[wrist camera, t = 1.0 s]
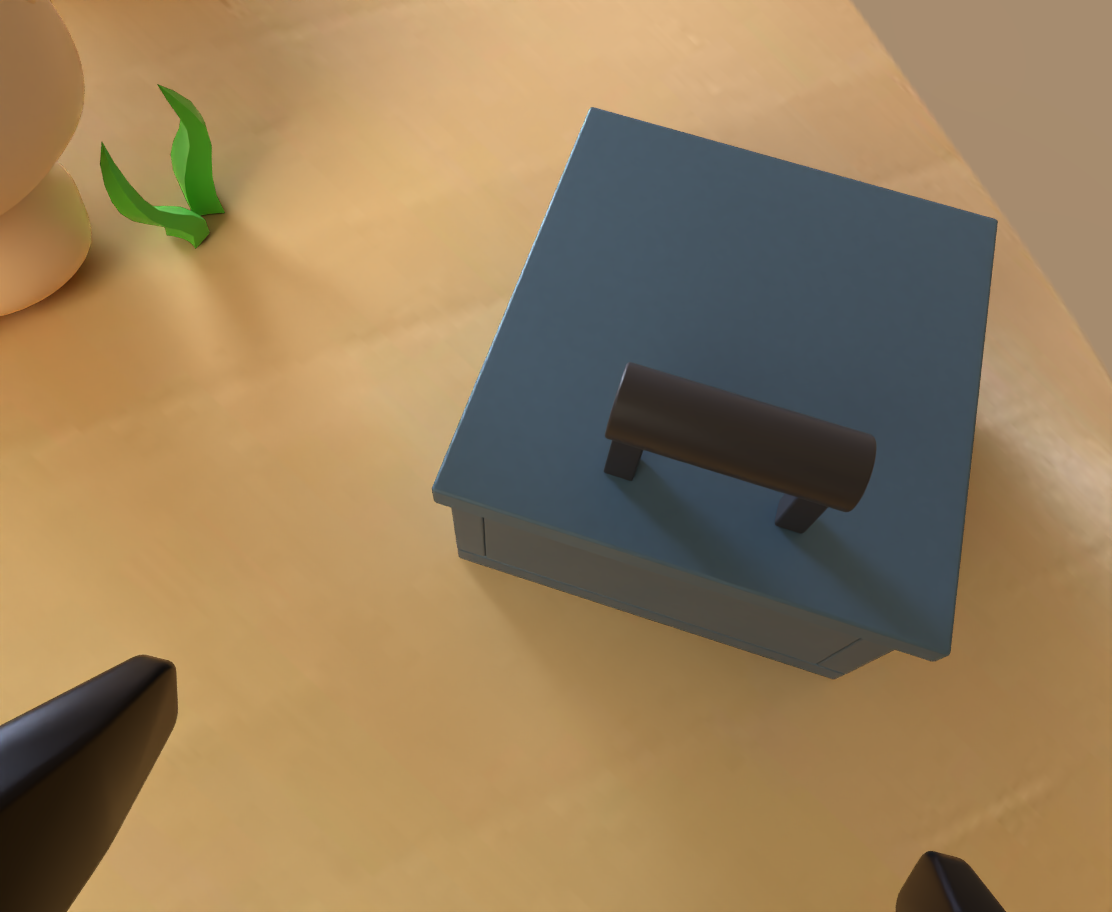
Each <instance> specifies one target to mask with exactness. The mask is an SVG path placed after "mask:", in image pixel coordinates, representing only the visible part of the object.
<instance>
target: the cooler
mask: <svg viewBox="0 0 1112 912" xmlns="http://www.w3.org/2000/svg"><path fill="white" fill-rule="evenodd" d="M452 515H453V521H454V528H455V535H456V542H457V548H458V554H459V557H460V558H462V559H465V560H468V561H471V562H474V563H477V564H480V565H483V566H486V567H489V568H493V569H496V570H499V571H502V572H505V573H508V574H511V575H514V576H517V577H520V578H523V579H526V580H529V581H533V582H536V583H539V584H542V585H545V586H548V587H551V588H554V589H557V590H560V591H563V592H566V593H570V594H573V595H576V596H579V597H582V598H585V599H588V600H591V601H594V602H597V603H600V604H603V605H606V606H610V607H613V608H616V609H619V610H622V611H625V612H628V613H631V614H634V615H637V616H640V617H643V618H646V619H650V620H653V621H656V622H659V623H662V624H665V625H668V626H671V627H674V628H677V629H680V630H683V631H686V632H690V633H693V634H696V635H699V636H702V637H705V638H708V639H711V640H714V641H717V642H720V643H723V644H726V645H730V646H733V647H736V648H739V649H742V650H745V651H748V652H751V653H754V654H757V655H760V656H763V657H766V658H770V659H773V660H776V661H779V662H782V663H785V664H788V665H791V666H794V667H797V668H800V669H803V670H806V671H810V672H813V673H816V674H819V675H822V676H825V677H828V678H831V679H837V678H839V677H841V676H843V675H845V674H847V673H849V672H851V671H853V670H855V669H857V668H859V667H861V666H863V665H865V664H867V663H869V662H871V661H873V660H875V659H877V658H879V657H881V656H883V655H885V654H887V653H889V652H891V651H893V650H895V649H891V648H888V647H885V646H882V645H879V644H876V643H873V642H870V641H867V640H863V639H860V638H857V637H854V636H851V635H848V634H845V633H842V632H838V631H835V630H832V629H829V628H826V627H823V626H820V625H817V624H813V623H810V622H807V621H804V620H801V619H798V618H795V617H792V616H788V615H785V614H782V613H779V612H776V611H773V610H770V609H767V608H764V607H760V606H757V605H754V604H751V603H748V602H745V601H742V600H739V599H735V598H732V597H729V596H726V595H723V594H720V593H717V592H714V591H710V590H707V589H704V588H701V587H698V586H695V585H692V584H689V583H685V582H682V581H679V580H676V579H673V578H670V577H667V576H664V575H660V574H657V573H654V572H651V571H648V570H645V569H642V568H639V567H636V566H632V565H629V564H626V563H623V562H620V561H617V560H614V559H611V558H607V557H604V556H601V555H598V554H595V553H592V552H589V551H586V550H582V549H579V548H576V547H573V546H570V545H567V544H564V543H561V542H557V541H554V540H551V539H548V538H545V537H542V536H539V535H536V534H533V533H529V532H526V531H523V530H520V529H517V528H514V527H511V526H508V525H504V524H501V523H498V522H495V521H492V520H489V519H486V518H483V517H479V516H476V515H473V514H470V513H467V512H464V511H461V510H458V509H454V508H452Z"/></svg>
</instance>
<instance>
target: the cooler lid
mask: <svg viewBox="0 0 1112 912" xmlns="http://www.w3.org/2000/svg"><path fill="white" fill-rule="evenodd" d="M997 223H998V221H997V220H996V219H993V218H990V217H986V216H982V215H979V214H975V213H972V212H968V211H964V210H961V209H957V208H954V207H950V206H946V205H943V204H939V203H936V202H932V201H928V200H925V199H921V198H918V197H914V196H910V195H907V194H903V193H900V192H896V191H893V190H889V189H885V188H882V187H878V186H875V185H871V184H867V183H864V182H860V181H857V180H853V179H849V178H846V177H842V176H839V175H835V174H831V173H828V172H824V171H821V170H817V169H813V168H810V167H806V166H803V165H799V164H795V163H792V162H788V161H785V160H781V159H777V158H774V157H770V156H767V155H763V154H759V153H756V152H752V151H749V150H745V149H742V148H738V147H734V146H731V145H727V144H724V143H720V142H716V141H713V140H709V139H706V138H702V137H698V136H695V135H691V134H688V133H684V132H680V131H677V130H673V129H670V128H666V127H662V126H659V125H655V124H652V123H648V122H644V121H641V120H637V119H634V118H630V117H626V116H623V115H619V114H616V113H612V112H609V111H605V110H601V109H598V108H594V107H591V108H590V109H589V111H588V114H587V116H586V118H585V121H584V123H583V126H582V128H581V130H580V133H579V135H578V138H577V140H576V142H575V145H574V147H573V150H572V152H571V154H570V157H569V159H568V162H567V164H566V166H565V169H564V171H563V174H562V176H561V179H560V181H559V183H558V186H557V188H556V191H555V193H554V195H553V198H552V200H551V203H550V205H549V207H548V210H547V212H546V215H545V217H544V219H543V222H542V224H541V227H540V229H539V231H538V234H537V236H536V239H535V241H534V243H533V246H532V248H531V251H530V253H529V256H528V258H527V260H526V263H525V265H524V268H523V270H522V272H521V275H520V277H519V280H518V282H517V284H516V287H515V289H514V292H513V294H512V296H511V299H510V301H509V304H508V306H507V308H506V311H505V313H504V316H503V318H502V320H501V323H500V325H499V328H498V330H497V333H496V335H495V337H494V340H493V342H492V345H491V347H490V349H489V352H488V354H487V357H486V359H485V361H484V364H483V366H482V369H481V371H480V373H479V376H478V378H477V381H476V383H475V385H474V388H473V390H472V393H471V395H470V397H469V400H468V402H467V405H466V407H465V410H464V412H463V414H462V417H461V419H460V422H459V424H458V426H457V429H456V431H455V434H454V436H453V438H452V441H451V443H450V446H449V448H448V450H447V453H446V455H445V458H444V460H443V462H442V465H441V467H440V470H439V472H438V474H437V477H436V479H435V482H434V484H433V486H432V493H433V498H434V501H435V502H436V503H439V504H442V505H445V506H448V507H451V508H454V509H458V510H461V511H464V512H467V513H470V514H473V515H476V516H479V517H483V518H486V519H489V520H492V521H495V522H498V523H501V524H504V525H508V526H511V527H514V528H517V529H520V530H523V531H526V532H529V533H533V534H536V535H539V536H542V537H545V538H548V539H551V540H554V541H557V542H561V543H564V544H567V545H570V546H573V547H576V548H579V549H582V550H586V551H589V552H592V553H595V554H598V555H601V556H604V557H607V558H611V559H614V560H617V561H620V562H623V563H626V564H629V565H632V566H636V567H639V568H642V569H645V570H648V571H651V572H654V573H657V574H660V575H664V576H667V577H670V578H673V579H676V580H679V581H682V582H685V583H689V584H692V585H695V586H698V587H701V588H704V589H707V590H710V591H714V592H717V593H720V594H723V595H726V596H729V597H732V598H735V599H739V600H742V601H745V602H748V603H751V604H754V605H757V606H760V607H764V608H767V609H770V610H773V611H776V612H779V613H782V614H785V615H788V616H792V617H795V618H798V619H801V620H804V621H807V622H810V623H813V624H817V625H820V626H823V627H826V628H829V629H832V630H835V631H838V632H842V633H845V634H848V635H851V636H854V637H857V638H860V639H863V640H867V641H870V642H873V643H876V644H879V645H882V646H885V647H888V648H891V649H895V650H898V651H901V652H904V653H907V654H910V655H913V656H916V657H920V658H923V659H926V660H929V661H937V660H939V659H942V658H944V657H946V656H949V654H950V651H951V642H952V633H953V624H954V614H955V605H956V596H957V587H958V578H959V569H960V560H961V551H962V542H963V532H964V523H965V514H966V505H967V496H968V487H969V478H970V469H971V459H972V450H973V441H974V432H975V423H976V414H977V405H978V396H979V387H980V377H981V368H982V359H983V350H984V341H985V332H986V323H987V314H988V305H989V295H990V286H991V277H992V268H993V259H994V250H995V241H996V232H997Z"/></svg>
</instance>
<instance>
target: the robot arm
mask: <svg viewBox="0 0 1112 912" xmlns="http://www.w3.org/2000/svg"><path fill="white" fill-rule="evenodd" d="M177 714H178V698H177V675H176V667H175V665H174V664H173V663H172V662H170V661H169V660H165V659H161V658H157V657H153V656H149V655H138V656H135V657H132V658H130V659H128V660H126V661H125V662H123V663H121V664H119V665H117V666H115V667H113V668H111V669H109V670H107V671H105V672H103V673H101V674H99V675H97V676H95V677H94V678H92V679H90V680H88V681H86V682H84V683H82V684H80V685H78V686H76V687H74V688H72V689H70V690H68V691H66V692H64V693H63V694H61V695H59V696H57V697H55V698H53V699H51V700H49V701H47V702H45V703H43V704H41V705H39V706H37V707H35V708H33V709H32V710H30V711H28V712H26V713H24V714H22V715H20V716H18V717H16V718H14V719H12V720H10V721H8V722H6V723H4V724H2V725H1V726H0V912H67V911H68V909H69V908H70V906H71V905H72V903H73V902H74V900H75V899H76V897H77V896H78V894H79V893H80V891H81V890H82V889H83V887H84V886H85V884H86V883H87V881H88V880H89V878H90V877H91V875H92V874H93V872H94V871H95V869H96V868H97V866H98V865H99V863H100V861H101V860H102V858H103V857H104V855H105V854H106V852H107V850H108V849H109V847H110V845H111V844H112V842H113V840H114V838H115V837H116V835H117V833H118V831H119V829H120V828H121V826H122V824H123V822H124V820H125V818H126V816H127V815H128V813H129V811H130V809H131V807H132V805H133V803H134V801H135V800H136V798H137V796H138V794H139V792H140V790H141V788H142V787H143V785H144V783H145V781H146V779H147V777H148V775H149V773H150V772H151V770H152V768H153V766H154V764H155V762H156V760H157V759H158V757H159V755H160V753H161V751H162V749H163V747H164V745H165V744H166V742H167V740H168V738H169V736H170V734H171V732H172V730H173V728H174V725H175V723H176V719H177ZM895 912H1006V911H1005V910H1004V908H1003V907H1002V906H1001V905H1000V903H999V902H998V901H997V900H996V898H995V897H994V896H993V895H992V893H991V892H990V891H989V889H988V888H987V887H986V886H985V884H984V883H983V882H982V881H981V879H980V878H979V877H978V875H977V874H976V873H975V872H974V870H973V869H972V868H971V867H970V866H969V865H968V864H967V863H966V862H965V861H964V860H962V859H960V858H958V857H954V856H950V855H946V854H942V853H938V852H934V851H928V852H926V853H924V854H923V855H922V856H921V857H920V859H919V861H918V862H917V864H916V865H915V867H914V869H913V870H912V872H911V874H910V875H909V877H908V879H907V880H906V882H905V884H904V885H903V887H902V889H901V890H900V892H899V894H898V898H897V902H896V911H895Z"/></svg>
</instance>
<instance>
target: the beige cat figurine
mask: <svg viewBox="0 0 1112 912" xmlns="http://www.w3.org/2000/svg"><path fill="white" fill-rule="evenodd" d="M157 85H158V84H157ZM158 86H159V88H160V90H161V91H162V93H163V94H164V96H165V98H166V99H167V101H168V102H169V104H170V105H171V106H172V108H173V109H174V111H175V112H176V113H177V115H178V116H179V118H180V125H179V129H178V132H177V134H176V136H175V138H174V141H173V145H172V150H171V160H172V166H173V171H174V173H175V176H176V178H177V180H178V183H179V185H180V187H181V189H182V192H183V194H184V196H185V198H186V201H187V203H188V205H189V207H190V209H191V211H190V210H188V209H185V208H182V207H175V206H152V205H150V204H149V203H148V202H146V201H145V200H144V199H143V198H142V197H141V196H140V195H139V194H138V193H137V192H136V190H135V189H134V188H133V187H132V186H131V185H130V184H129V182H128V181H127V180H126V178H125V177H124V176H123V174H122V173H121V171H120V170H119V169H118V167H117V166H116V164H115V163H114V161H113V160H112V158H111V156H110V154H109V153H108V151H107V149H106V148H105V146H104V144H103V142H102V143H101V158H100V166H101V171H102V175H103V180H104V185H105V187H106V190H107V192H108V194H109V197H110V199H111V201H112V203H113V204H114V206H115V207H116V208H117V210H118V211H119V212H120V213H121V214H122V215H124V216H125V217H127V218H129V219H130V220H132V221H135V222H139V223H145V224H150V225H156V226H162V227H165V230H166V234H167V235H169V236H175V237H179V238H183V239H185V240H187V241H189V242H190V243H191V244H192V245H193V246H194V247H195V249H196V248H197V247H198V246H199V245H200V244H201V243H202V241H203V240H204V239H205V238H206V237H207V236H208V234H209V233H210V232H209V229H208V226H207V223H206V220H205V219H204V218H202V217H201V216H200V215H206V214H215V213H225V212H224V210H223V207H222V205H221V203H220V201H219V199H218V197H217V195H216V191H215V186H214V182H213V177H212V145H211V141H210V138H209V135H208V132H207V128H206V125H205V122H204V120H203V118H202V116H201V114H200V113H199V111H198V110H197V109H196V107H195V106H194V105H193V104H192V102H191V101H190V100H188V99H186V98H185V97H183V96H182V95H180V94H178V93H177V92H175V91H173V90H171V89H168V88H166V87H163V86H161V85H158ZM84 94H85V85H84V75H83V69H82V65H81V61H80V58H79V54H78V51H77V49H76V46H75V44H74V41H73V39H72V37H71V35H70V33H69V31H68V29H67V27H66V25H65V24H64V22H63V20H62V18H61V17H60V15H59V13H58V12H57V10H56V9H55V7H54V6H53V4H52V3H51V1H50V0H0V316H3V315H7V314H10V313H14V312H17V311H19V310H22V309H25V308H27V307H29V306H31V305H34V304H36V303H37V302H39V301H41V300H43V299H45V298H46V297H48V296H49V295H51V294H52V293H54V292H55V291H57V290H58V289H59V288H60V287H62V286H63V285H64V284H65V283H66V282H67V281H68V280H69V279H70V278H71V277H72V276H73V275H74V274H75V273H76V271H77V270H78V269H79V268H80V266H81V265H82V263H83V262H84V260H85V258H86V256H87V254H88V251H89V248H90V244H91V226H90V221H89V217H88V214H87V212H86V209H85V207H84V204H83V202H82V199H81V196H80V194H79V191H78V189H77V187H76V185H75V183H74V181H73V179H72V177H71V176H70V174H69V173H68V172H67V171H66V169H65V168H64V167H63V166H62V165H61V164H60V163H59V162H57V160H58V158H59V157H60V156H61V154H62V153H63V151H64V150H65V148H66V147H67V145H68V143H69V142H70V140H71V138H72V136H73V134H74V132H75V130H76V128H77V125H78V123H79V120H80V117H81V113H82V109H83V104H84Z"/></svg>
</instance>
